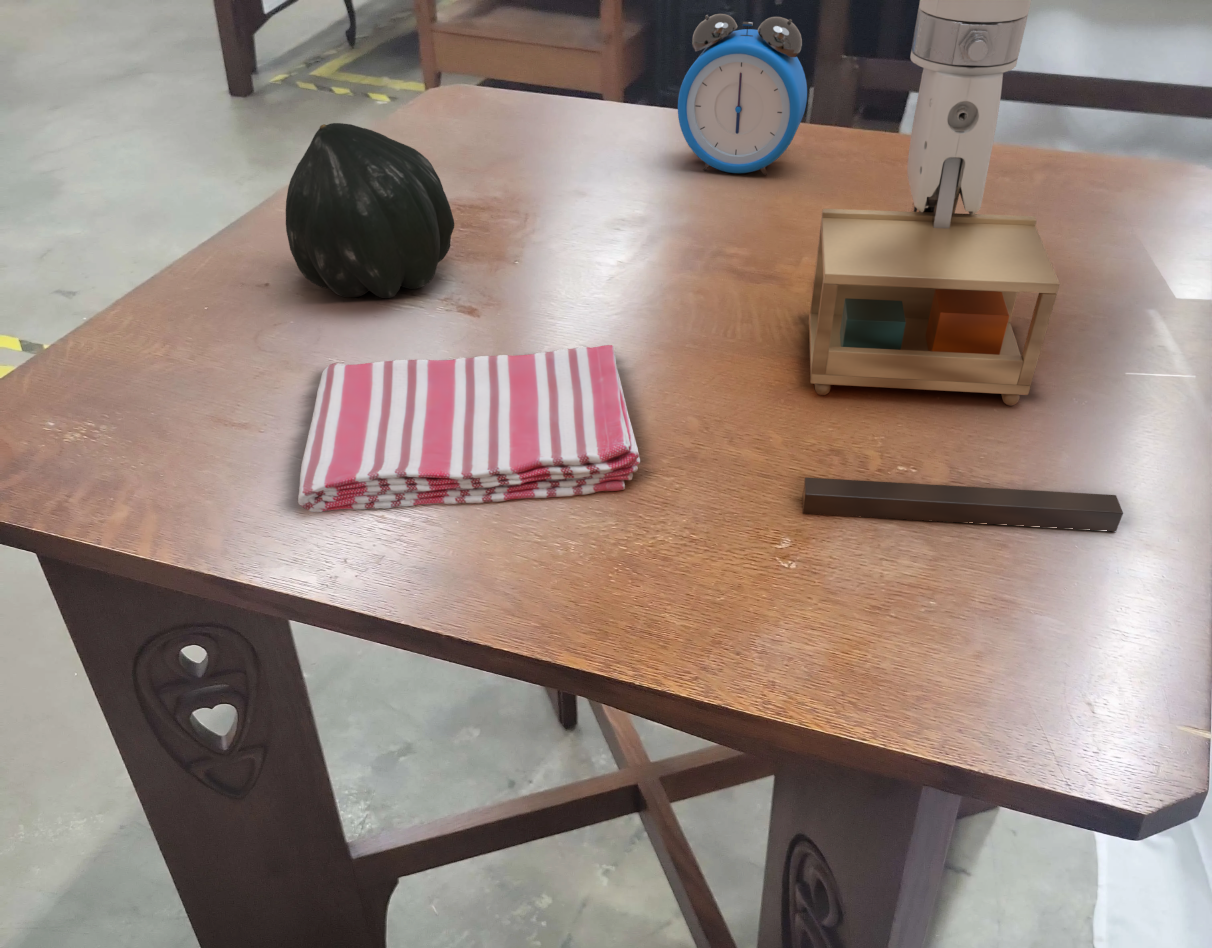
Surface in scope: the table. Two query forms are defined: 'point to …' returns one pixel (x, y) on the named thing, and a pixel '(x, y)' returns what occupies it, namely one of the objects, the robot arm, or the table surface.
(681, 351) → the table surface
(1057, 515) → the edge strip
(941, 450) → the table surface
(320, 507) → the dish towel
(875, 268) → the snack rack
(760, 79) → the alarm clock
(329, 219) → the squash
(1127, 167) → the table surface
